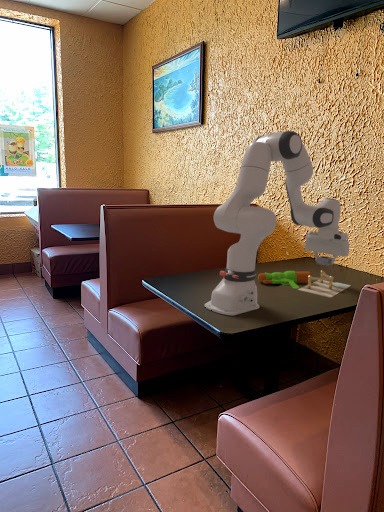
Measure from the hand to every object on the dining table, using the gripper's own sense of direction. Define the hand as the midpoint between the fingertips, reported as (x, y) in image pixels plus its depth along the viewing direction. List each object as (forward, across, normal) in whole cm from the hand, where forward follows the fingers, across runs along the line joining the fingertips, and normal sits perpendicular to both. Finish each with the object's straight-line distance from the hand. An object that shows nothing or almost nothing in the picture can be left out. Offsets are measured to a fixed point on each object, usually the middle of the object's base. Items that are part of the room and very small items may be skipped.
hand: (324, 262), depth 178 cm
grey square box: (+1, 0, 0) cm, 1 cm away
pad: (+10, +8, +2) cm, 13 cm away
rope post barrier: (+10, +3, -7) cm, 13 cm away
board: (+11, +4, -7) cm, 14 cm away
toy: (+12, -12, -14) cm, 22 cm away
